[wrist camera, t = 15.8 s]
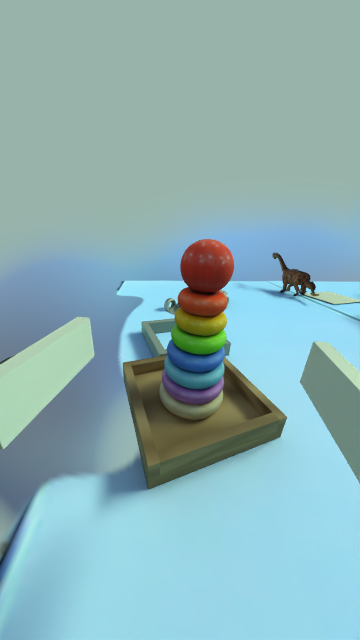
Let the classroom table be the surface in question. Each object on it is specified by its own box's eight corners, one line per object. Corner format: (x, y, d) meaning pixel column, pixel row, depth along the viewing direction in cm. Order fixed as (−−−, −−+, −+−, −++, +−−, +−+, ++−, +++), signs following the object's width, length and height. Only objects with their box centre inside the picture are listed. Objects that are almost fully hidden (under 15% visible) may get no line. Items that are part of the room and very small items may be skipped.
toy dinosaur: (272, 284, 100) (279, 252, 94) (331, 304, 74) (347, 261, 68) (257, 285, 97) (264, 251, 91) (313, 305, 71) (328, 260, 65)
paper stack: (282, 289, 93) (282, 287, 93) (320, 287, 102) (321, 285, 102) (334, 305, 73) (334, 304, 73) (376, 301, 82) (376, 300, 82)
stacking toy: (152, 418, 23) (152, 236, 16) (165, 374, 30) (170, 236, 23) (224, 428, 22) (259, 242, 15) (220, 380, 30) (242, 240, 22)
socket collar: (228, 354, 38) (230, 343, 37) (159, 367, 34) (159, 354, 33) (197, 325, 50) (198, 316, 49) (141, 332, 45) (141, 321, 44)
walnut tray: (280, 436, 23) (287, 417, 22) (148, 489, 18) (148, 466, 17) (212, 362, 36) (214, 347, 35) (123, 379, 30) (122, 362, 29)
